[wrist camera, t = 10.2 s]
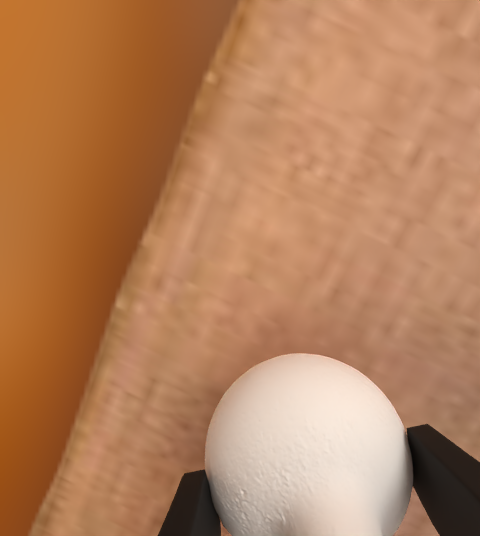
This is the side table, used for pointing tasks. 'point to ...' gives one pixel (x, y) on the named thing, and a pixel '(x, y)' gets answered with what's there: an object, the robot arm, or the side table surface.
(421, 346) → the side table surface
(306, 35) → the side table surface
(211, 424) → the garlic bulb
